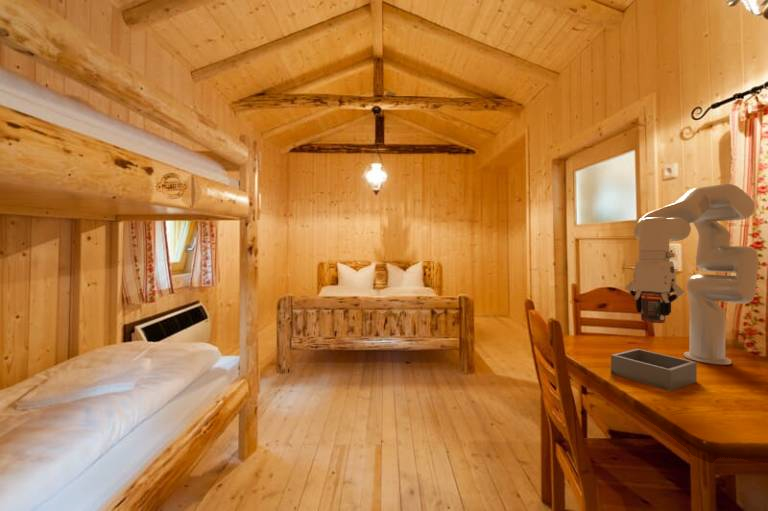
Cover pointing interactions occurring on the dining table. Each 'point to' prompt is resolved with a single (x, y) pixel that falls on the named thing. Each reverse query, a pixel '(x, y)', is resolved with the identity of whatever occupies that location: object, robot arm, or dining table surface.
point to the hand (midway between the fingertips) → (652, 312)
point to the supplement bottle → (652, 307)
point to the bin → (654, 369)
